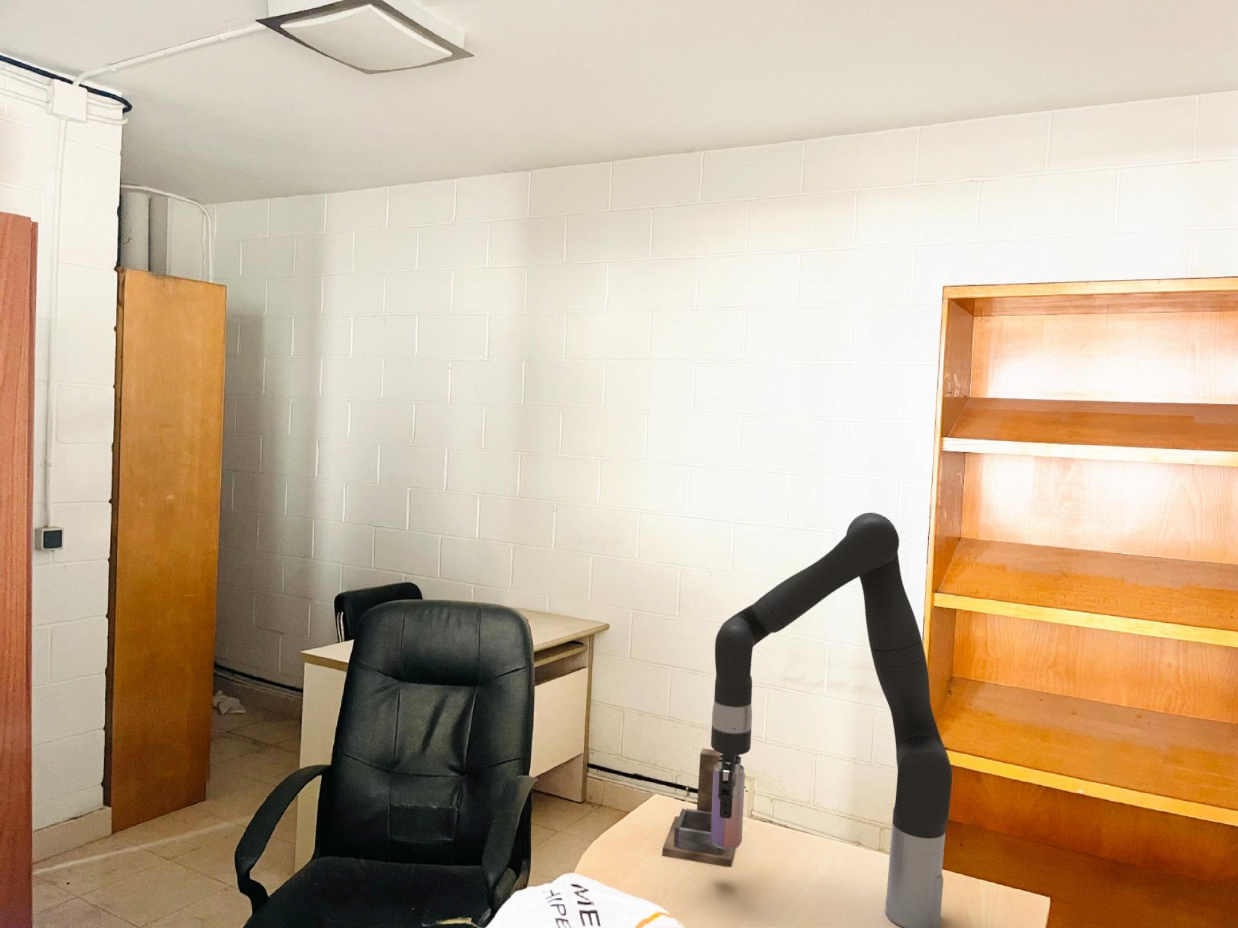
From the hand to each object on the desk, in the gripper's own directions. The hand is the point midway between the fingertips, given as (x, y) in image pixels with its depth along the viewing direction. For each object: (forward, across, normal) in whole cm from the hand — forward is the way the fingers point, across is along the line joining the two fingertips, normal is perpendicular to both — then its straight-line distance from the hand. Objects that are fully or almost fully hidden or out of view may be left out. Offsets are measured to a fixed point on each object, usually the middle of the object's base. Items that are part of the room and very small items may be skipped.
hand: (727, 809), depth 175 cm
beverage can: (+7, 0, 0) cm, 7 cm away
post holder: (+15, +15, +6) cm, 22 cm away
